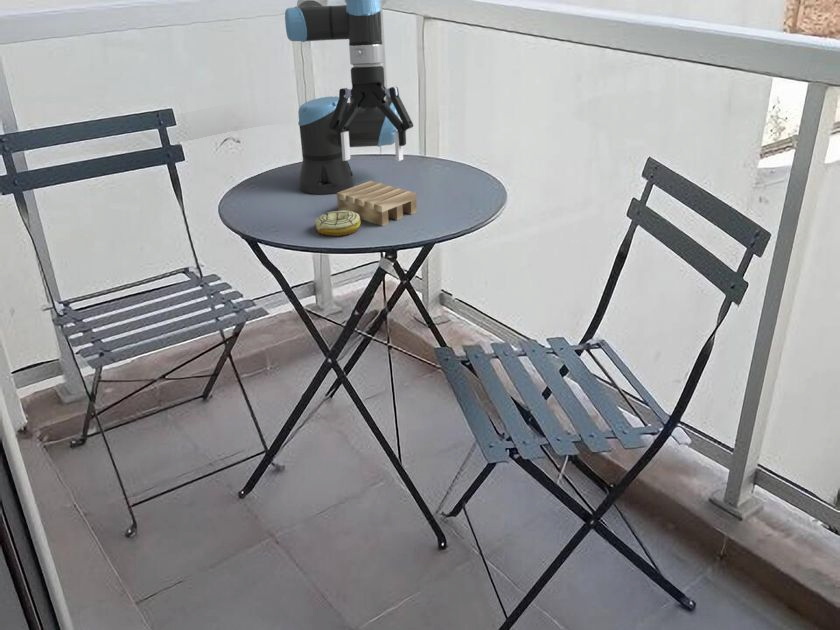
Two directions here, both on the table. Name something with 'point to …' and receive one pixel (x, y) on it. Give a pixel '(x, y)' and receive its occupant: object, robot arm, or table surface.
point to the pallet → (377, 202)
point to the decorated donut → (338, 223)
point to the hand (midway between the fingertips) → (372, 160)
